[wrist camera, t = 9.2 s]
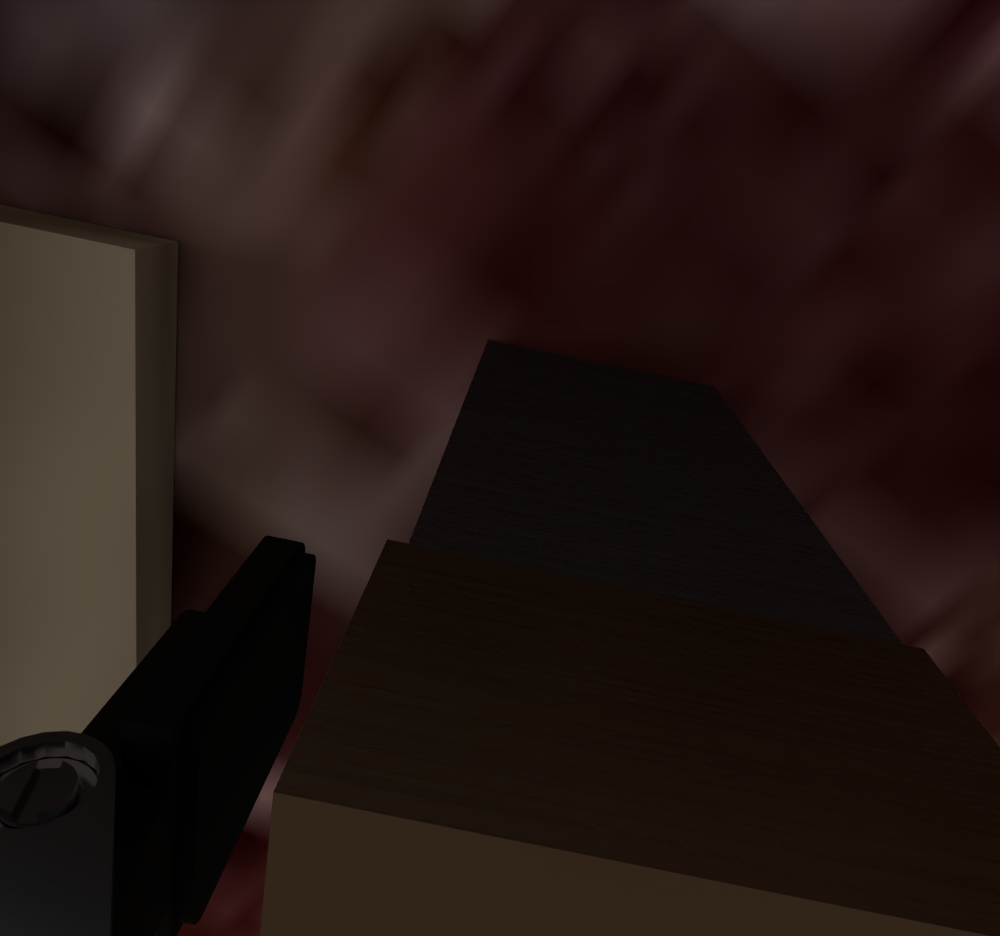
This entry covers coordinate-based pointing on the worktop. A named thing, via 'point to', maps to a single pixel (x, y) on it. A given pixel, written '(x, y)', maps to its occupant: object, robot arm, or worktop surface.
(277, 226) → the worktop surface
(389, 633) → the brown rectangular block
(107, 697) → the board
